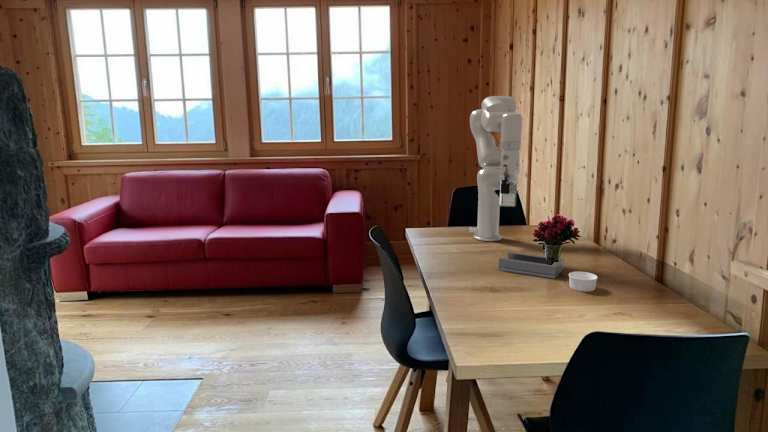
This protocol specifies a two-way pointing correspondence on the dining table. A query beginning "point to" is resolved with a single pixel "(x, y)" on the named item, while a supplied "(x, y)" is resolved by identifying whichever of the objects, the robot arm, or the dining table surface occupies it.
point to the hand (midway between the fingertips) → (508, 191)
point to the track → (530, 265)
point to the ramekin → (582, 281)
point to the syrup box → (510, 198)
